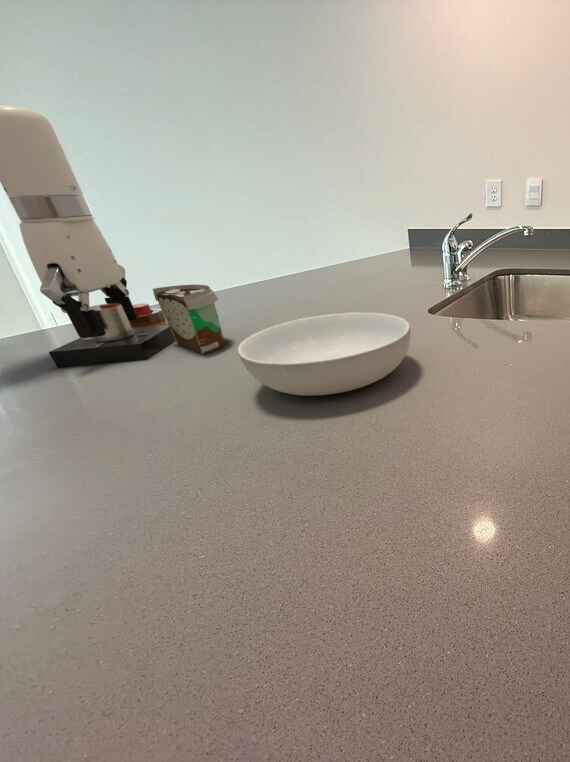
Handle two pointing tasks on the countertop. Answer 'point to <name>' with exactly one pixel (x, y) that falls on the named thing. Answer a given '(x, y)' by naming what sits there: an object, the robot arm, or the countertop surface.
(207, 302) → the food container
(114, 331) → the stove knob
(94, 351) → the stove panel
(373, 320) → the serving bowl
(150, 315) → the igniter
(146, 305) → the button
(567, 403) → the countertop surface
